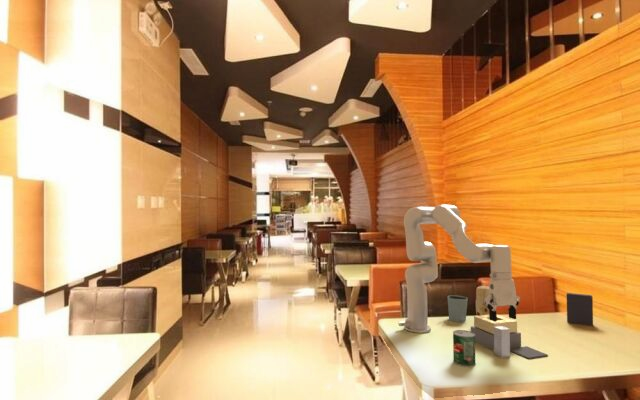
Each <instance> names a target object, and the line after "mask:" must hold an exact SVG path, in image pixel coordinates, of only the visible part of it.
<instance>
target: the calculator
mask: <svg viewBox="0 0 640 400" xmlns="http://www.w3.org/2000/svg"><path fill="white" fill-rule="evenodd" d="M593 302H594V301H593V295H591V294H583V293H574V292H573V293H571V292H566V321H567V323H568V324H574V325H575V324H576V325H584V326H591V327H593V326H594V310H593V309H594V307H593V306H594V305H593V304H594V303H593Z"/></svg>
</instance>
